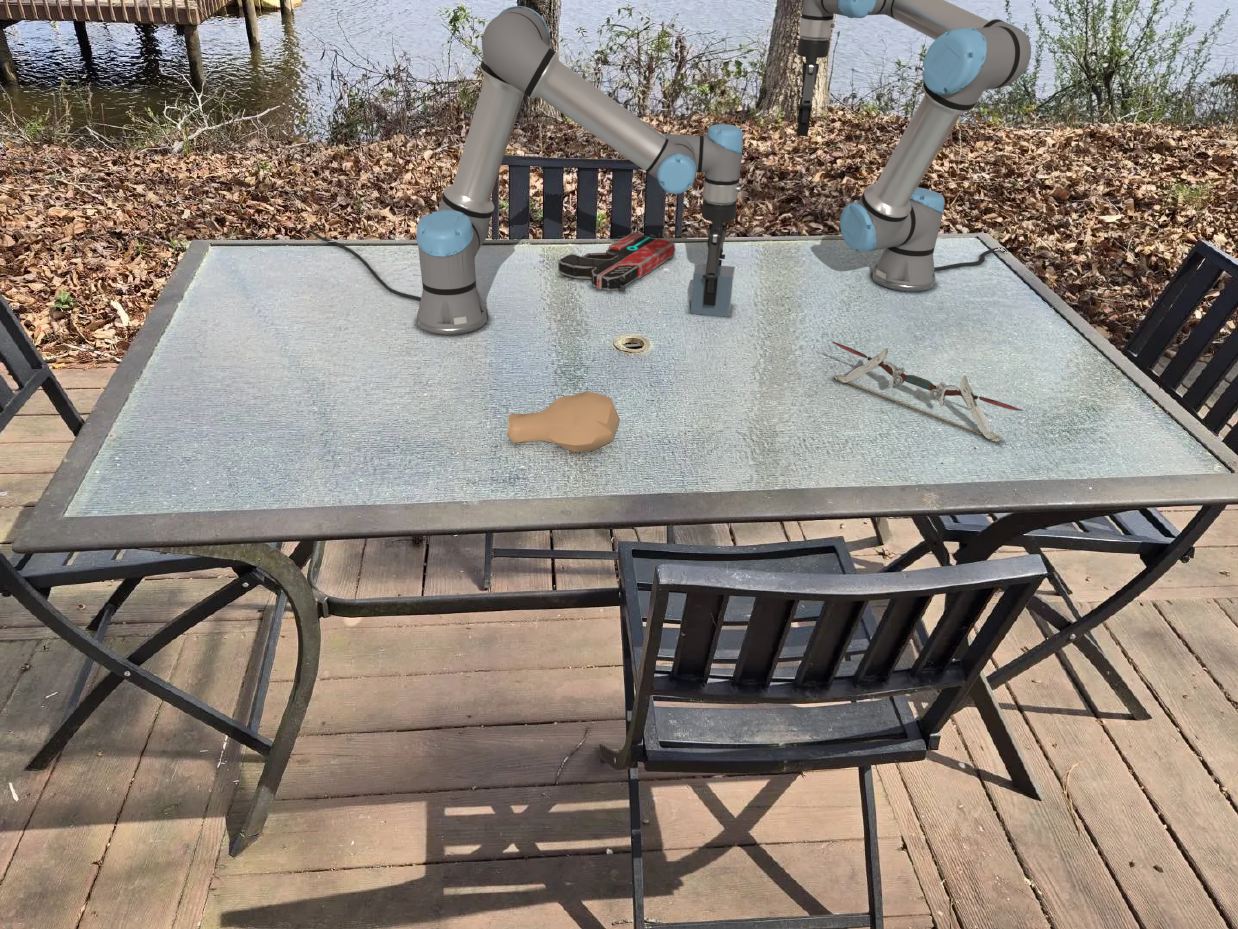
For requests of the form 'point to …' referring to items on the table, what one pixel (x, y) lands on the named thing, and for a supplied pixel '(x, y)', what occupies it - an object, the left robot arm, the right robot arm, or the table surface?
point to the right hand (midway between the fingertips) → (802, 129)
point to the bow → (936, 391)
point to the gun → (618, 261)
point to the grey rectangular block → (722, 292)
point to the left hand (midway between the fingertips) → (711, 295)
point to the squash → (569, 423)
